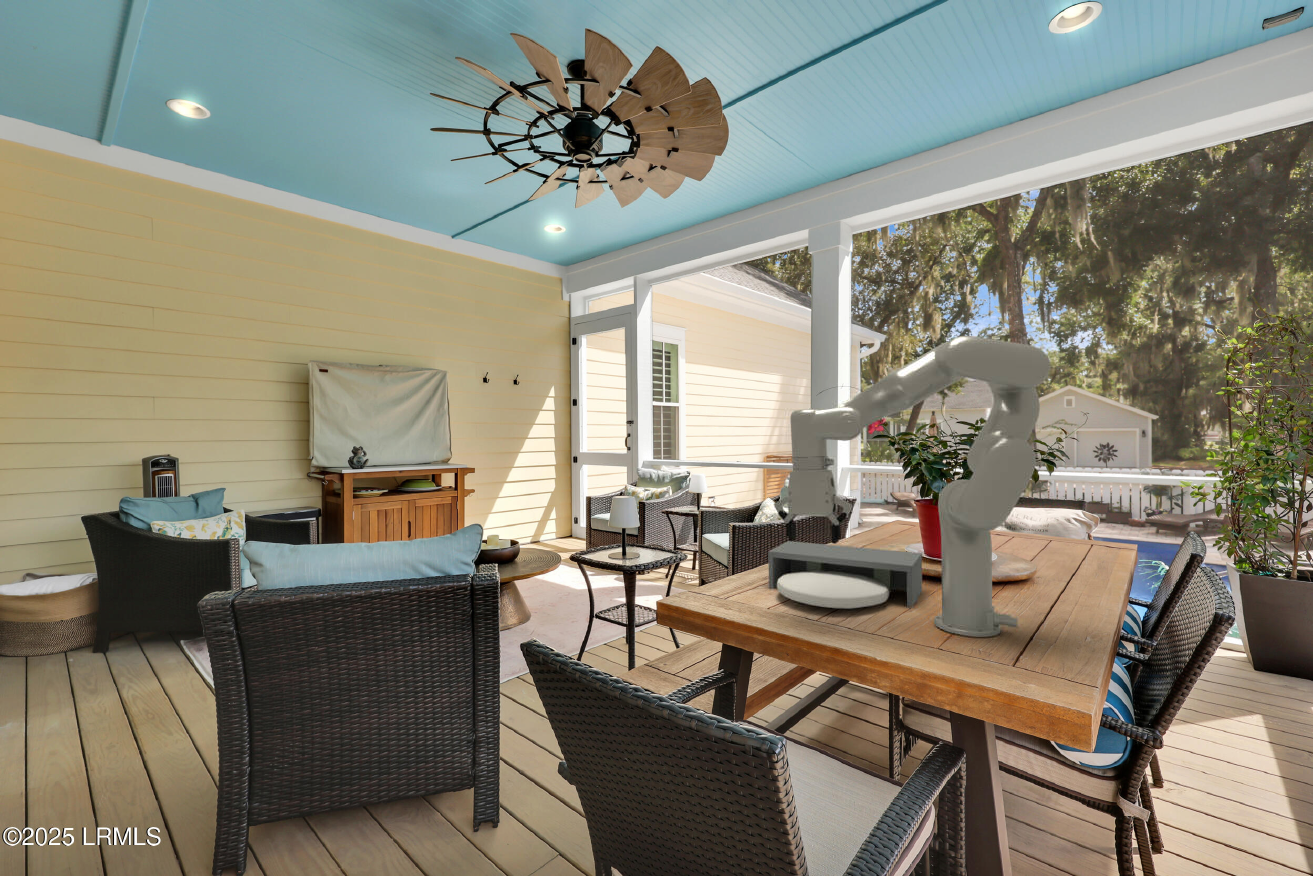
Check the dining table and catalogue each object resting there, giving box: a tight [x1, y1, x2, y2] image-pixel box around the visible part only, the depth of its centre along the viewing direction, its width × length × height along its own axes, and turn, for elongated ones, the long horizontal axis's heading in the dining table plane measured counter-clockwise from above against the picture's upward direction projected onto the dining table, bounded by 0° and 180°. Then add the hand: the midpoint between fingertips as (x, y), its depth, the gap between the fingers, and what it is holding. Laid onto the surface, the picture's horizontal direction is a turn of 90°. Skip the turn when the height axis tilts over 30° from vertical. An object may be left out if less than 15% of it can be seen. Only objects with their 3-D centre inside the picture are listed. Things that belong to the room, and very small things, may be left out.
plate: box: [776, 571, 890, 609], centre depth 147 cm, size 28×6×27 cm
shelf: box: [767, 540, 923, 608], centre depth 155 cm, size 36×16×10 cm, turn 58°
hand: (813, 541), depth 130 cm, fingers open, 9 cm apart
